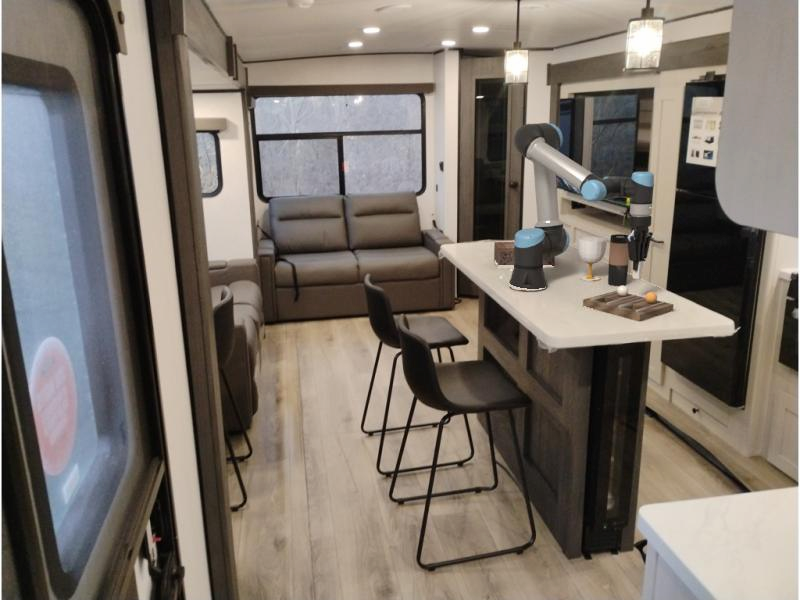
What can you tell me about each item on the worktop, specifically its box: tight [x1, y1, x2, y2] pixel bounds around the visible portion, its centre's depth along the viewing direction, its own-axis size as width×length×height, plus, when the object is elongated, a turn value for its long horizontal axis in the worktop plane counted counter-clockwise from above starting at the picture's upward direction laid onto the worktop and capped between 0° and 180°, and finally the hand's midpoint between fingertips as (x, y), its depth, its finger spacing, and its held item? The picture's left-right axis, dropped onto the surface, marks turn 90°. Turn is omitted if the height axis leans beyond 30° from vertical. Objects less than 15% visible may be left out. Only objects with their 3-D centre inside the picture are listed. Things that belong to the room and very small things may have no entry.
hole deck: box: [582, 290, 674, 323], centre depth 233 cm, size 24×19×3 cm
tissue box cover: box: [493, 241, 556, 267], centre depth 303 cm, size 26×14×10 cm, turn 90°
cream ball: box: [616, 285, 629, 296], centre depth 239 cm, size 4×4×4 cm
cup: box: [577, 236, 608, 281], centre depth 274 cm, size 12×12×17 cm
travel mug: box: [607, 233, 630, 287], centre depth 264 cm, size 8×8×20 cm
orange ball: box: [645, 291, 658, 303], centre depth 230 cm, size 4×4×4 cm
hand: (636, 278), depth 242 cm, fingers closed
